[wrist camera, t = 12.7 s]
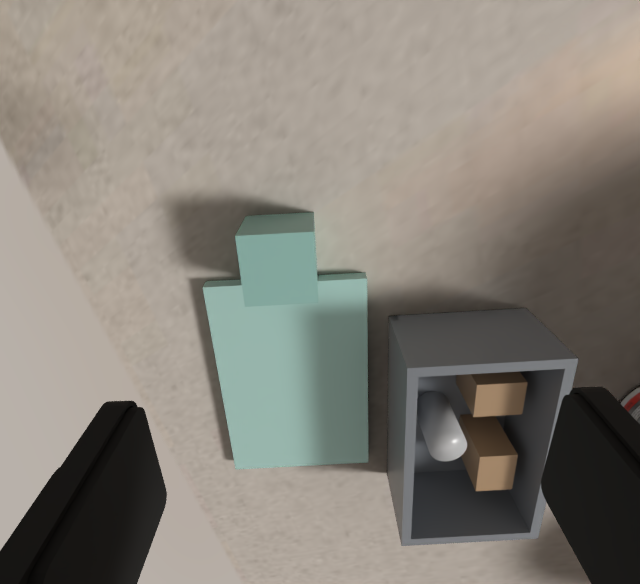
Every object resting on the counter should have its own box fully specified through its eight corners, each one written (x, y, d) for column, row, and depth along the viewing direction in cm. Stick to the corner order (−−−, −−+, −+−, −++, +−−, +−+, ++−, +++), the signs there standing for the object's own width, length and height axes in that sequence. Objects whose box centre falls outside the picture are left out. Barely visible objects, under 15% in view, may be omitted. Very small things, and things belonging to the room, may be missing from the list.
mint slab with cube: (195, 218, 25) (175, 239, 22) (364, 209, 25) (373, 228, 22) (237, 459, 33) (228, 503, 30) (366, 452, 33) (373, 496, 29)
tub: (388, 315, 28) (407, 368, 23) (526, 308, 28) (578, 358, 23) (387, 473, 34) (401, 545, 28) (501, 467, 34) (538, 538, 28)
